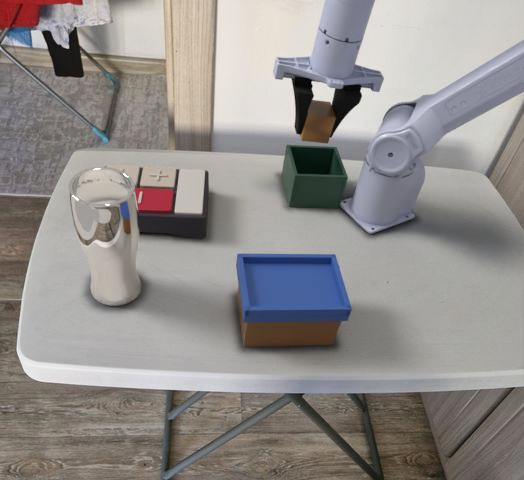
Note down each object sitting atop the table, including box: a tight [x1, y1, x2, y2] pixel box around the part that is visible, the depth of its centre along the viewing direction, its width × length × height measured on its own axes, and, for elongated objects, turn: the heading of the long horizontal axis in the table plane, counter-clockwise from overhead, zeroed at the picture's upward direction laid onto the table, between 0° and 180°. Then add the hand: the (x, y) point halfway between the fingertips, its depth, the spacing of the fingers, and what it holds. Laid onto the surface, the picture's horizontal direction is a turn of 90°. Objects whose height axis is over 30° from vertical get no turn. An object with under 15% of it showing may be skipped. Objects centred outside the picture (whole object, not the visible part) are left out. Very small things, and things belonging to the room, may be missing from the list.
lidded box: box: [235, 253, 353, 348], centre depth 63 cm, size 12×9×7 cm
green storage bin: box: [280, 144, 349, 209], centre depth 81 cm, size 8×8×6 cm
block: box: [299, 99, 336, 144], centre depth 74 cm, size 4×4×4 cm
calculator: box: [104, 163, 210, 239], centre depth 74 cm, size 11×4×15 cm
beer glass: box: [68, 166, 142, 307], centre depth 60 cm, size 7×7×15 cm
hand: (312, 132), depth 76 cm, fingers closed on block, 4 cm apart
